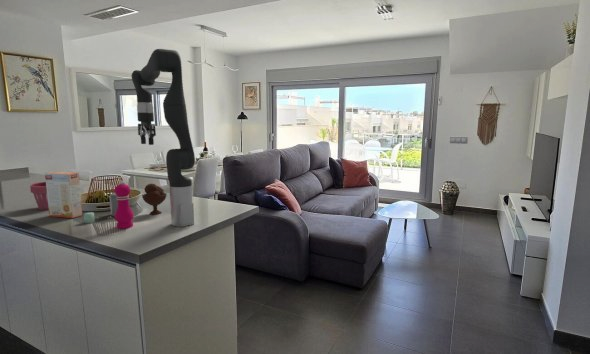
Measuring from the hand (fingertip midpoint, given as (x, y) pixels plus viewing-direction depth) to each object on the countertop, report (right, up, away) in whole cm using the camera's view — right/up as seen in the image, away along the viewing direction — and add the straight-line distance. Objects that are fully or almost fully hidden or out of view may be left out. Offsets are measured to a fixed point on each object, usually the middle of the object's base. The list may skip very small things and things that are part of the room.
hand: (147, 144), depth 174 cm
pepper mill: (+2, -38, -27) cm, 47 cm away
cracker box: (-33, -35, -12) cm, 50 cm away
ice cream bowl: (+7, -35, -6) cm, 36 cm away
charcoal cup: (-10, -35, -8) cm, 37 cm away
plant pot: (-52, -33, +3) cm, 61 cm away
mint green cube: (-16, -37, -22) cm, 46 cm away
